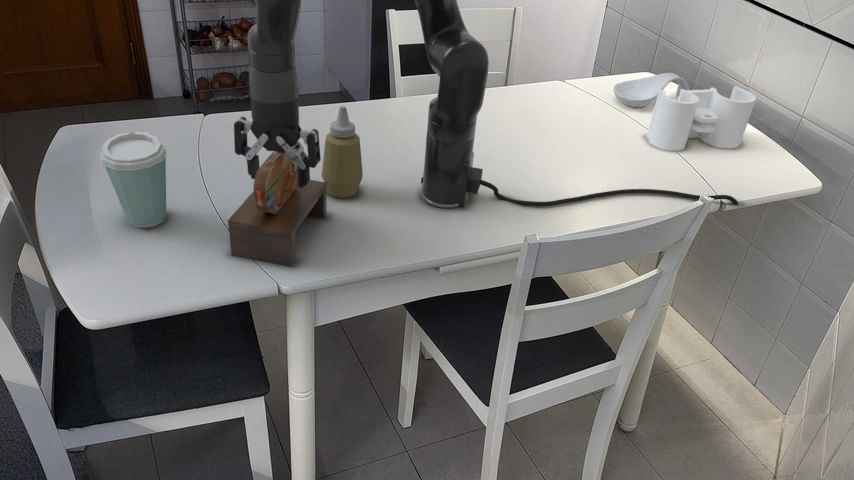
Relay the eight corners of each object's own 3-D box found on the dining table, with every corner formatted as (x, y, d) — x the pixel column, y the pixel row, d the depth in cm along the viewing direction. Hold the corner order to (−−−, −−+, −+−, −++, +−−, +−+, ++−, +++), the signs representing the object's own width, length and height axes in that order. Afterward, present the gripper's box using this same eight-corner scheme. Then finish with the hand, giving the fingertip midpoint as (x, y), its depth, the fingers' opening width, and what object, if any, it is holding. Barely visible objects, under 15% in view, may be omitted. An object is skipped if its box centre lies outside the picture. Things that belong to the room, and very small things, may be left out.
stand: (326, 214, 141) (326, 182, 137) (292, 266, 126) (290, 232, 122) (271, 204, 142) (269, 172, 138) (231, 254, 127) (227, 220, 123)
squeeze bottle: (345, 206, 144) (346, 119, 133) (313, 192, 147) (311, 106, 136) (370, 190, 150) (373, 106, 139) (339, 177, 153) (339, 94, 142)
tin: (270, 223, 124) (267, 178, 119) (252, 219, 124) (248, 175, 119) (302, 182, 136) (300, 140, 131) (285, 179, 136) (284, 137, 131)
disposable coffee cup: (176, 232, 131) (164, 156, 122) (110, 237, 128) (93, 159, 119) (176, 202, 139) (165, 128, 130) (114, 206, 136) (99, 131, 127)
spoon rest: (628, 114, 194) (635, 88, 190) (602, 97, 202) (607, 71, 198) (696, 105, 204) (703, 80, 200) (668, 89, 212) (675, 64, 208)
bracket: (661, 153, 177) (675, 105, 170) (641, 135, 184) (653, 89, 177) (748, 147, 184) (765, 101, 177) (725, 130, 192) (740, 86, 184)
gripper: (221, 93, 116) (230, 184, 125) (308, 108, 114) (311, 199, 124) (241, 77, 122) (249, 165, 131) (324, 90, 120) (326, 178, 130)
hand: (279, 181), depth 128 cm, fingers open, 8 cm apart
